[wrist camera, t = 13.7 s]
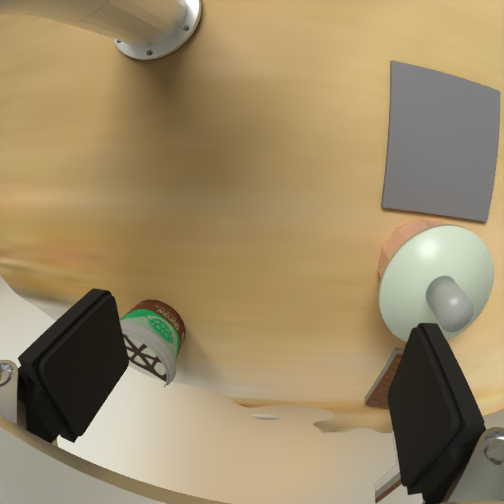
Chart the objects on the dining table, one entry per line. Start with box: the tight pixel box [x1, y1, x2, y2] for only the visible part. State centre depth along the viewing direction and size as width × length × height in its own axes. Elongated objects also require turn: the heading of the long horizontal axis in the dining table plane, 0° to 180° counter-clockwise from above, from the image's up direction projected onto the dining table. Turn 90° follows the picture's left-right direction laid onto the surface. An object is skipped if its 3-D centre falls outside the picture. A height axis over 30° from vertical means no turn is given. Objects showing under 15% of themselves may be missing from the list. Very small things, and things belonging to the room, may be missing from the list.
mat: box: [381, 61, 500, 222], centre depth 31 cm, size 18×16×1 cm
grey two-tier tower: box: [365, 349, 424, 504], centre depth 29 cm, size 11×11×35 cm
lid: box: [378, 224, 494, 342], centre depth 29 cm, size 15×15×6 cm
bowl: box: [378, 219, 444, 278], centre depth 35 cm, size 12×12×7 cm
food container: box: [120, 300, 185, 387], centre depth 43 cm, size 12×6×10 cm, turn 56°
